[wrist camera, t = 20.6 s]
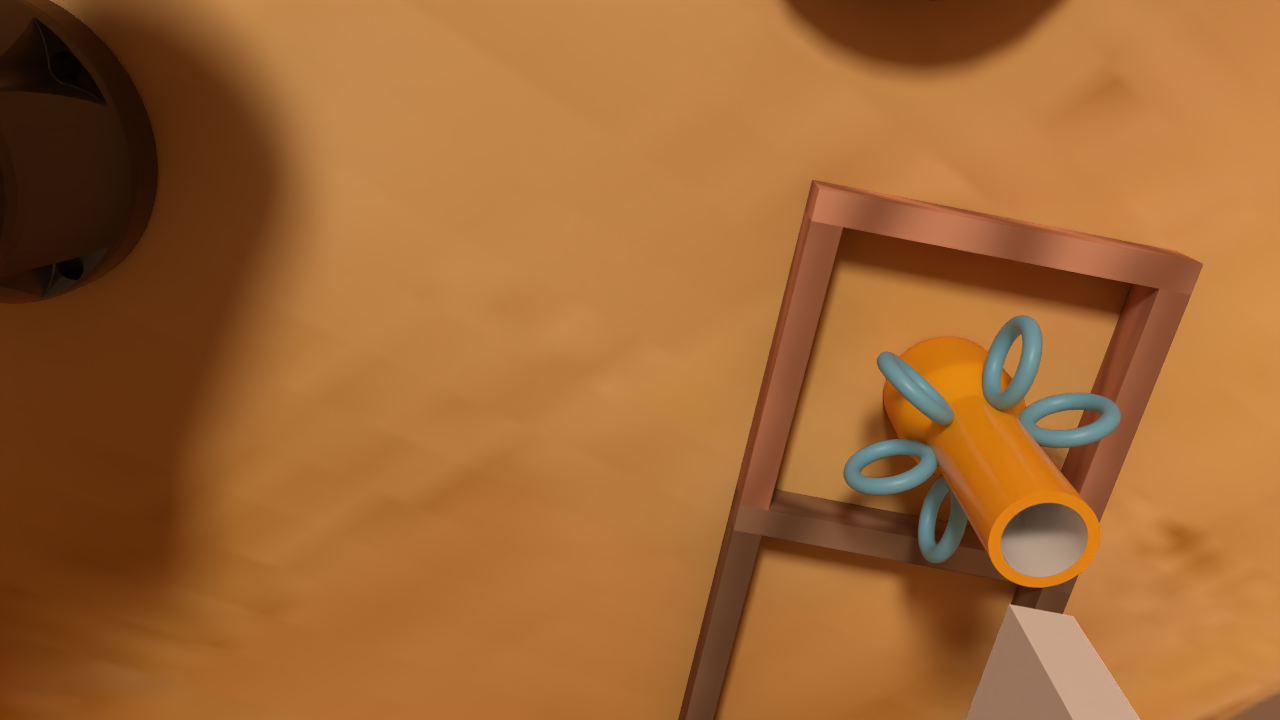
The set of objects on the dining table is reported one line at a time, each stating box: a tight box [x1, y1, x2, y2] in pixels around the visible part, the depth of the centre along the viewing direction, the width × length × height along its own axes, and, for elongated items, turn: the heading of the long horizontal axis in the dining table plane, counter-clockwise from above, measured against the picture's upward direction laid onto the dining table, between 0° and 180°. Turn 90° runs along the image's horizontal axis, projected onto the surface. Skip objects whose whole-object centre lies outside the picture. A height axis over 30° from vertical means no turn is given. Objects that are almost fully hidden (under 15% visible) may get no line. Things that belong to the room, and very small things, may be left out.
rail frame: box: [678, 180, 1203, 720], centre depth 51 cm, size 18×34×2 cm, turn 169°
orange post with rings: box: [843, 316, 1121, 587], centre depth 42 cm, size 12×10×15 cm
